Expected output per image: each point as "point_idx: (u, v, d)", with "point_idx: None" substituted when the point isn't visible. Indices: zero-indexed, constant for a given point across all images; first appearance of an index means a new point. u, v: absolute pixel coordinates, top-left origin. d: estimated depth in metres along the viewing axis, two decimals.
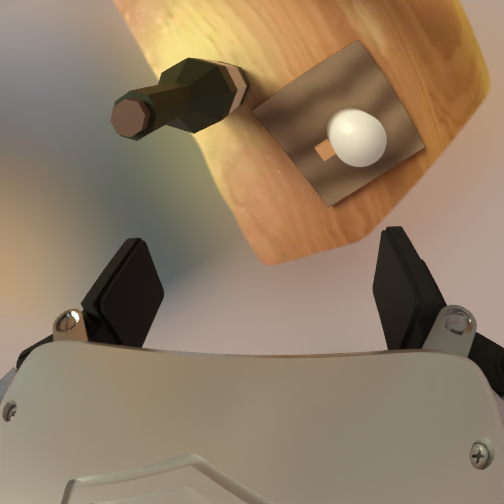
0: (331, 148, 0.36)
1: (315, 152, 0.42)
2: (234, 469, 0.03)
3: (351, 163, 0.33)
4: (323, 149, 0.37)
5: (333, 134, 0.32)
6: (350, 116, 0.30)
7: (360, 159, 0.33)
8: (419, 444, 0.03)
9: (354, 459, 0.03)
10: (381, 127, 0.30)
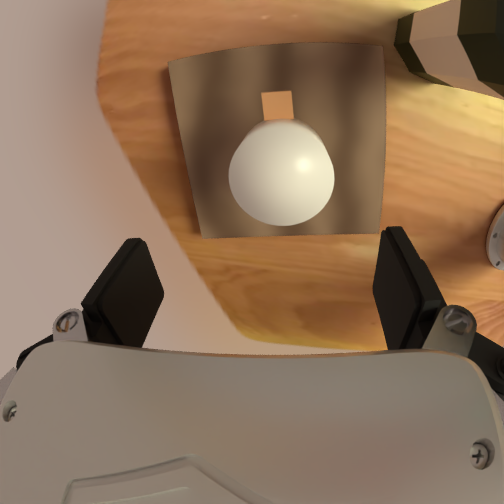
0: (277, 115, 0.20)
1: (268, 82, 0.23)
2: (235, 469, 0.03)
3: (247, 144, 0.18)
4: (282, 102, 0.19)
5: (316, 143, 0.17)
6: (329, 187, 0.19)
7: (247, 162, 0.18)
8: (419, 444, 0.03)
9: (354, 459, 0.03)
10: (283, 222, 0.21)
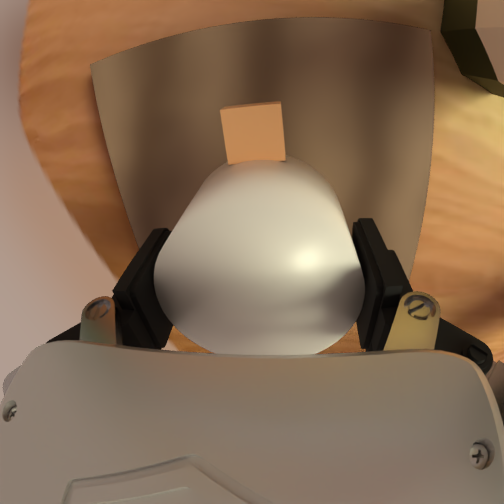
0: (252, 154, 0.11)
1: (243, 85, 0.14)
2: (235, 469, 0.03)
3: (180, 239, 0.08)
4: (263, 127, 0.10)
5: (335, 238, 0.08)
6: (350, 314, 0.09)
7: (185, 273, 0.09)
8: (419, 444, 0.03)
9: (354, 459, 0.03)
10: None
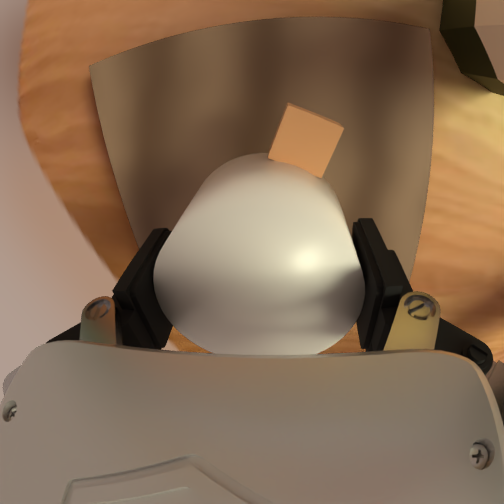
0: (294, 159, 0.10)
1: (242, 85, 0.14)
2: (234, 469, 0.03)
3: (219, 219, 0.08)
4: (317, 140, 0.10)
5: (358, 273, 0.08)
6: (331, 339, 0.10)
7: (203, 252, 0.08)
8: (419, 444, 0.03)
9: (354, 459, 0.03)
10: None
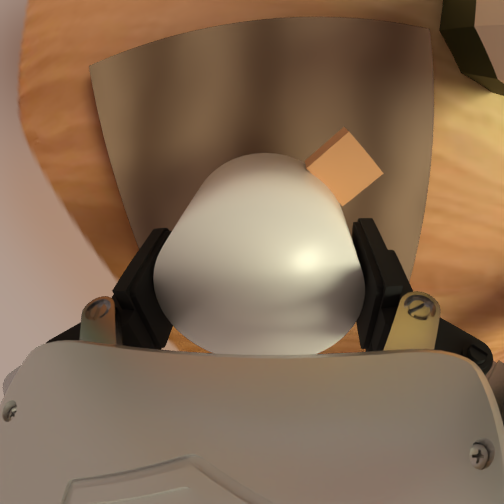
0: (329, 180, 0.11)
1: (242, 85, 0.14)
2: (234, 469, 0.03)
3: (270, 216, 0.08)
4: (357, 173, 0.10)
5: (359, 306, 0.09)
6: (303, 353, 0.11)
7: (235, 240, 0.08)
8: (419, 444, 0.03)
9: (354, 459, 0.03)
10: (197, 341, 0.11)
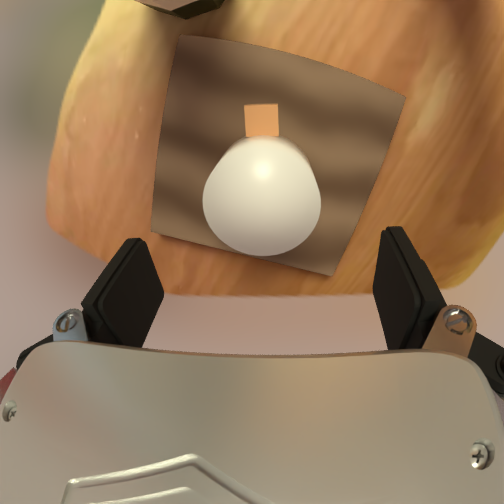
0: (260, 132, 0.18)
1: (195, 155, 0.25)
2: (234, 469, 0.03)
3: (224, 165, 0.16)
4: (267, 117, 0.18)
5: (303, 167, 0.16)
6: (314, 216, 0.17)
7: (223, 185, 0.16)
8: (419, 444, 0.03)
9: (354, 459, 0.03)
10: (261, 252, 0.19)
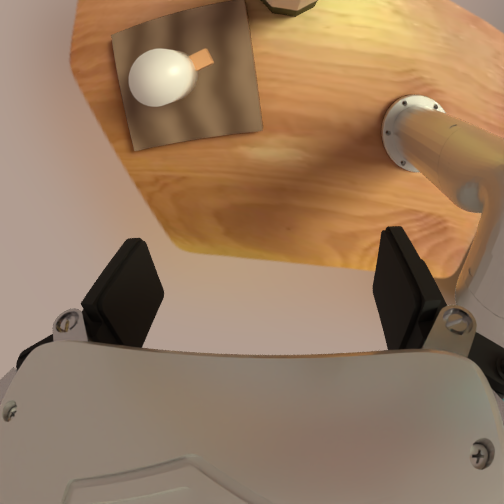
0: (194, 61, 0.28)
1: (169, 37, 0.31)
2: (234, 470, 0.03)
3: (168, 52, 0.25)
4: (203, 61, 0.28)
5: (183, 85, 0.27)
6: (162, 102, 0.28)
7: (158, 56, 0.25)
8: (419, 444, 0.03)
9: (354, 459, 0.03)
10: (132, 91, 0.27)
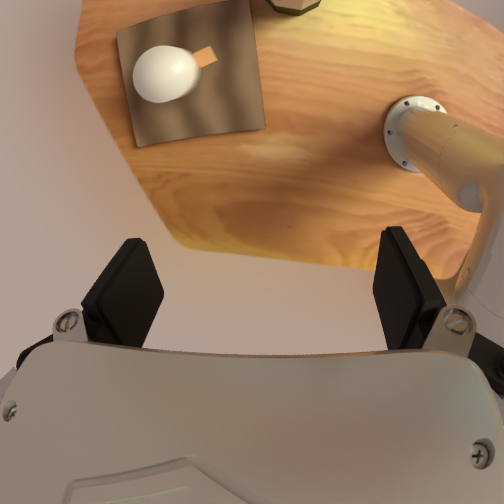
0: (198, 58, 0.29)
1: (173, 34, 0.31)
2: (235, 470, 0.03)
3: (172, 49, 0.25)
4: (207, 58, 0.29)
5: (186, 81, 0.27)
6: (166, 99, 0.28)
7: (162, 53, 0.25)
8: (419, 444, 0.03)
9: (354, 459, 0.03)
10: (136, 87, 0.28)
